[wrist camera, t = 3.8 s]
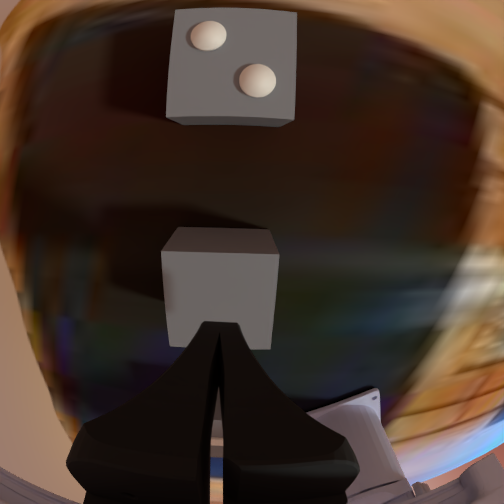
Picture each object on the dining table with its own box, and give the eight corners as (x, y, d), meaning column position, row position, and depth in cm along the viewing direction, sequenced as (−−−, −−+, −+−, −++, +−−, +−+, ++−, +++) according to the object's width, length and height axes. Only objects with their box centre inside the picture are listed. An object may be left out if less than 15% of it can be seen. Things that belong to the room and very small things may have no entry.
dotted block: (279, 126, 14) (295, 119, 10) (182, 124, 14) (164, 116, 10) (282, 42, 13) (297, 11, 9) (188, 40, 12) (174, 7, 8)
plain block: (263, 308, 18) (270, 349, 14) (181, 306, 17) (169, 346, 14) (269, 229, 16) (279, 254, 12) (178, 226, 16) (160, 251, 12)
